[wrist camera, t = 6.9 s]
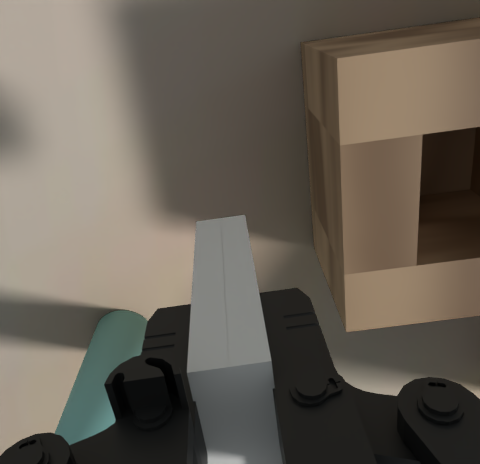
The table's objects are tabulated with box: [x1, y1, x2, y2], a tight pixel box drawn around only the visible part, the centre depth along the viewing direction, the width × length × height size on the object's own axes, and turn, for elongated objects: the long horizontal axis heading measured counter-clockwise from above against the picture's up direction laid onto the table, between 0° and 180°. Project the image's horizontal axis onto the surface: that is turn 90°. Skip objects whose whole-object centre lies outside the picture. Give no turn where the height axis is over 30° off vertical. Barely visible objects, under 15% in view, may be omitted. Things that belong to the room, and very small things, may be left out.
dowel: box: [55, 310, 148, 445], centre depth 20 cm, size 3×3×13 cm
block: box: [301, 17, 480, 332], centre depth 19 cm, size 10×10×7 cm
